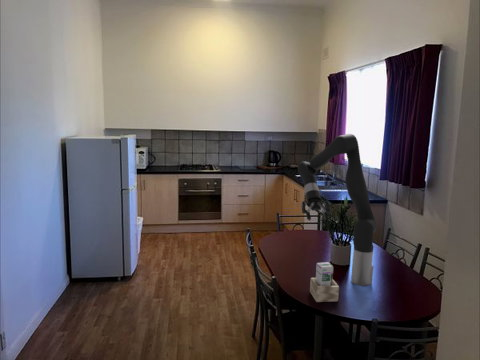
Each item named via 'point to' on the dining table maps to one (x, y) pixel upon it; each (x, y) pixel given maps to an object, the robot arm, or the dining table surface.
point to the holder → (324, 291)
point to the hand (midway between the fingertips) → (317, 219)
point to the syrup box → (324, 274)
